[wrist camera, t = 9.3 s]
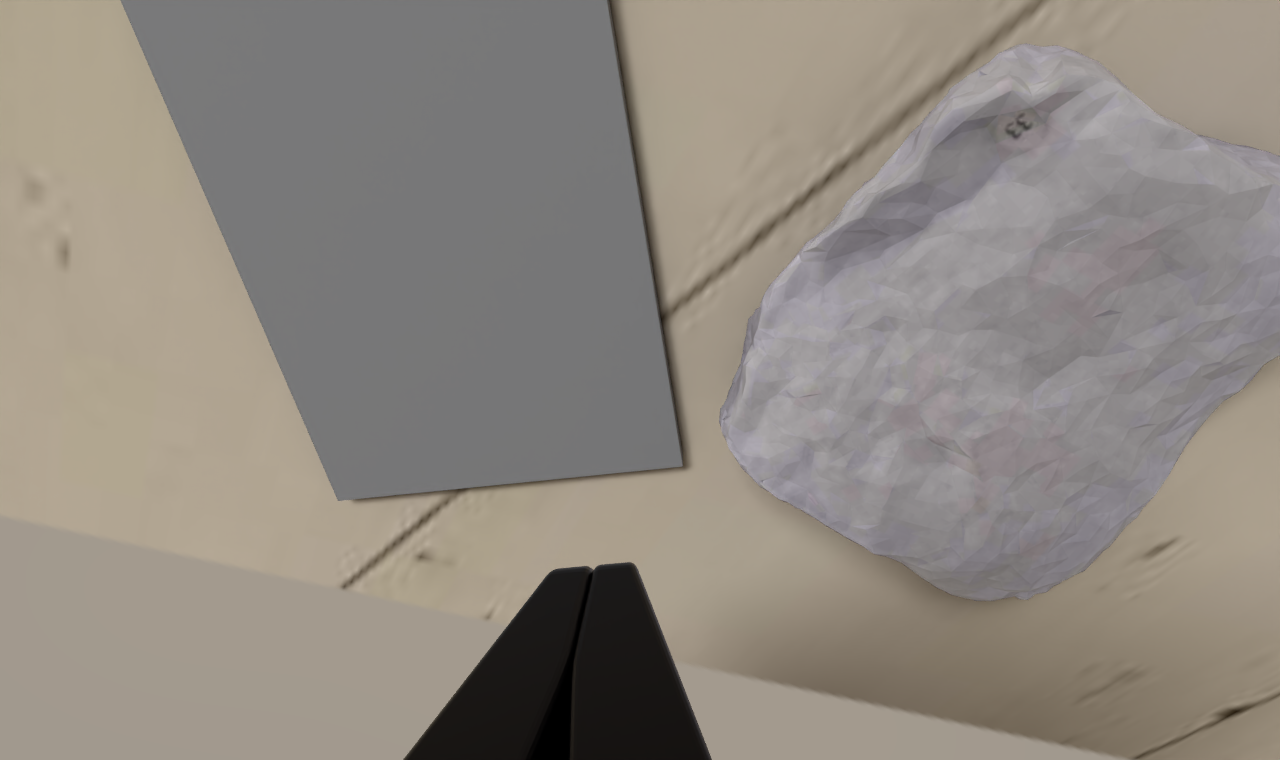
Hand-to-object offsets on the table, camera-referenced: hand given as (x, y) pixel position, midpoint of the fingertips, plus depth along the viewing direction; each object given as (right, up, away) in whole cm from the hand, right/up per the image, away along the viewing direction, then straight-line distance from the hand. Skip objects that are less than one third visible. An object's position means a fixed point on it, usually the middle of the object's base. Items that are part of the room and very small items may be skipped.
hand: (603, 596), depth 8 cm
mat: (-4, +5, +12) cm, 14 cm away
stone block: (+4, +6, +11) cm, 13 cm away
